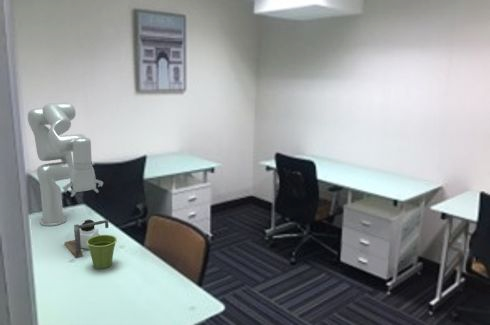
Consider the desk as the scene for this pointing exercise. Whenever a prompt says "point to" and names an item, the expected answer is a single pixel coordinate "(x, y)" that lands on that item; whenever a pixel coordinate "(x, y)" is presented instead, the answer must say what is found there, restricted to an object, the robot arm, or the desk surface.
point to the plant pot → (102, 250)
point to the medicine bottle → (87, 233)
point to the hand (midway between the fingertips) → (84, 202)
